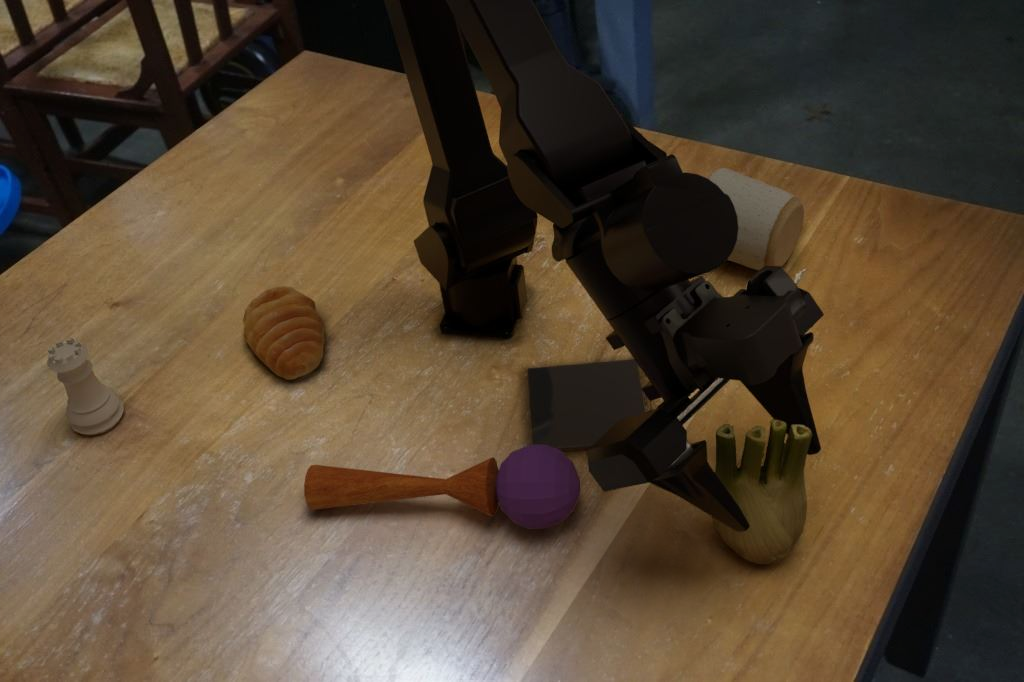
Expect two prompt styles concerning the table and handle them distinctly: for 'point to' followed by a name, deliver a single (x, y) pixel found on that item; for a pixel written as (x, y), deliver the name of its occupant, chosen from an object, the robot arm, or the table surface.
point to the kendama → (464, 486)
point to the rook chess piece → (84, 389)
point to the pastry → (285, 331)
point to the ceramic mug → (761, 219)
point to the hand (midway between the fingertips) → (780, 490)
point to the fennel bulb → (765, 489)
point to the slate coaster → (582, 402)
